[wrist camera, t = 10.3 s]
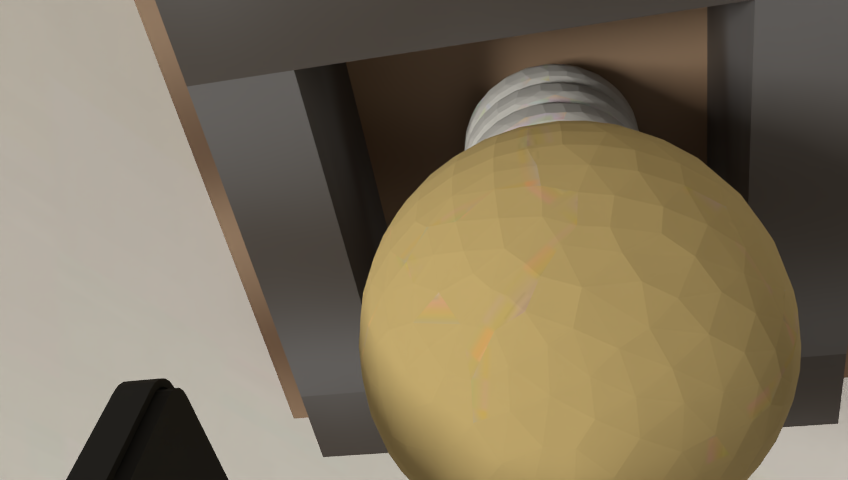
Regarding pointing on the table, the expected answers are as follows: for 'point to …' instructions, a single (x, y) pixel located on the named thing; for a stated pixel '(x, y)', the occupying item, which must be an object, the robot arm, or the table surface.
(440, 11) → the lamp socket
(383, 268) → the light bulb
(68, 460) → the table surface
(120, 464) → the robot arm
